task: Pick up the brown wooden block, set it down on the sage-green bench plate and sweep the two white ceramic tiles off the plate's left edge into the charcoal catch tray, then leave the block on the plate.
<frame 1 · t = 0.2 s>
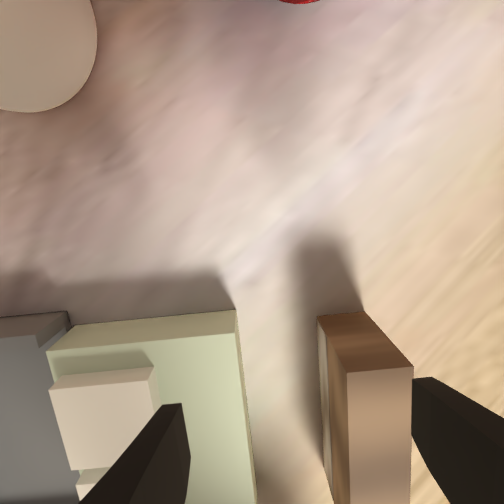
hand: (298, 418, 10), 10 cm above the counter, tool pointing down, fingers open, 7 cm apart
brown wooden block: (343, 394, 21), on the counter
catch tray: (30, 427, 21), on the counter
bench plate: (173, 413, 21), on the counter
pill bottle: (25, 33, 16), on the counter
tile b: (117, 410, 18), point 3 cm above the counter, touching bench plate
tile a: (136, 495, 19), point 3 cm above the counter, touching bench plate
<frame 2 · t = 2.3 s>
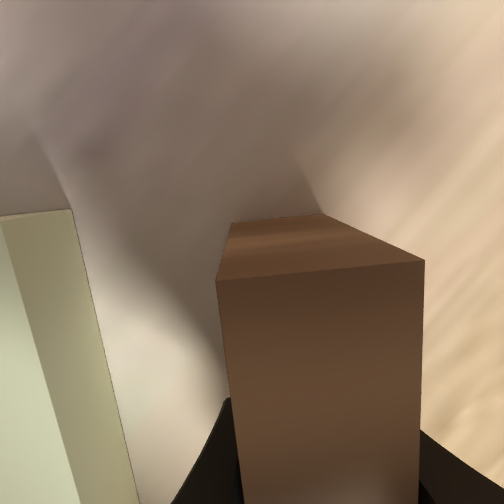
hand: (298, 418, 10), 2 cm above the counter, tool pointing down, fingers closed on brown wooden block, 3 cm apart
brown wooden block: (290, 378, 12), on the counter, touching gripper
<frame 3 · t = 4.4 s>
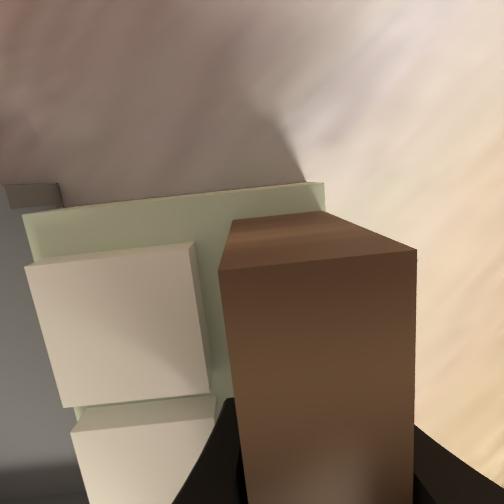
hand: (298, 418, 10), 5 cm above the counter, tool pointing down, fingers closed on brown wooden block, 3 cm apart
brown wooden block: (290, 373, 12), point 3 cm above the counter, touching bench plate, gripper
catch tray: (7, 365, 15), on the counter
bench plate: (210, 344, 15), on the counter
tile b: (134, 317, 11), point 3 cm above the counter, touching bench plate
tile a: (162, 455, 13), point 3 cm above the counter, touching bench plate
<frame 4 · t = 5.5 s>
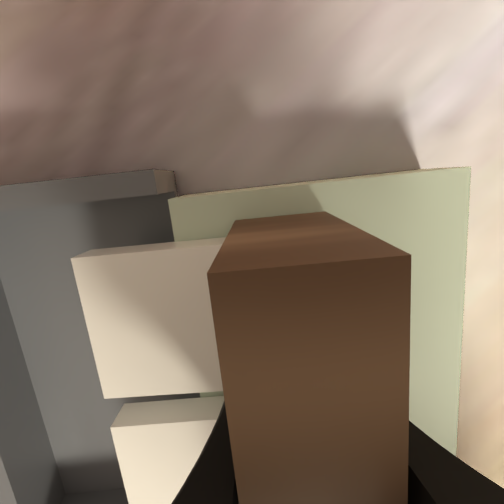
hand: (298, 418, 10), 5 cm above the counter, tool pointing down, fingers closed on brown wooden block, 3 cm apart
brown wooden block: (292, 374, 12), point 3 cm above the counter, touching gripper, tile b
catch tray: (109, 355, 15), on the counter
bench plate: (312, 333, 15), on the counter
tile b: (173, 311, 11), point 3 cm above the counter, touching bench plate, brown wooden block
tile a: (197, 452, 13), point 3 cm above the counter
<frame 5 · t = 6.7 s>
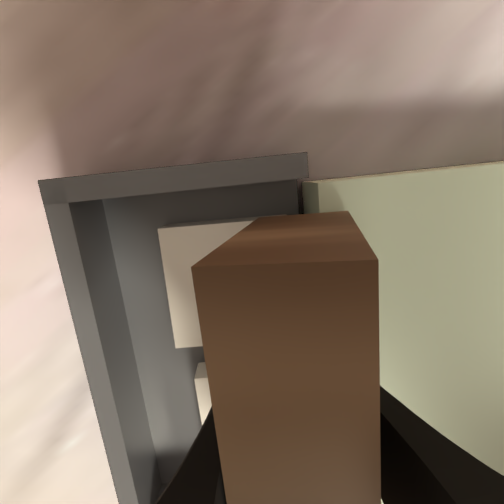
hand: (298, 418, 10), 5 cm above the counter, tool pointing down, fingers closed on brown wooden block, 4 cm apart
brown wooden block: (312, 370, 12), point 3 cm above the counter, tilted 14°, touching bench plate, gripper
catch tray: (213, 343, 15), on the counter
bench plate: (417, 322, 15), on the counter
tile b: (231, 276, 14), resting on catch tray
tile a: (257, 403, 15), resting on catch tray
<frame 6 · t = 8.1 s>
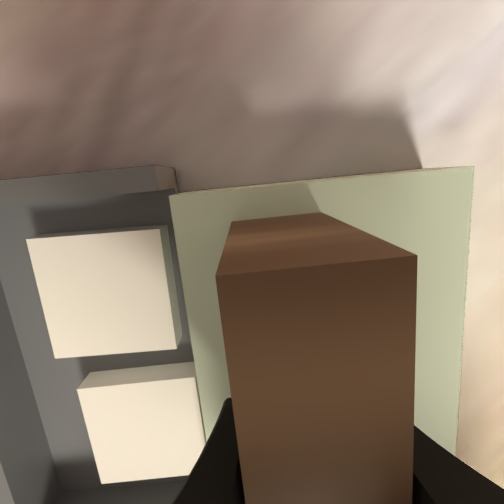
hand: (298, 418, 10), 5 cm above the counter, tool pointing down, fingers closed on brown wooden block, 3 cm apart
brown wooden block: (289, 375, 12), point 3 cm above the counter, touching gripper
catch tray: (108, 352, 15), on the counter
bench plate: (312, 332, 15), on the counter
tile b: (116, 286, 14), resting on catch tray
tile a: (153, 412, 15), resting on catch tray
when the fingers open (5 cm above the counter, at t = 8.6 s): brown wooden block stays where it is, resting on bench plate.
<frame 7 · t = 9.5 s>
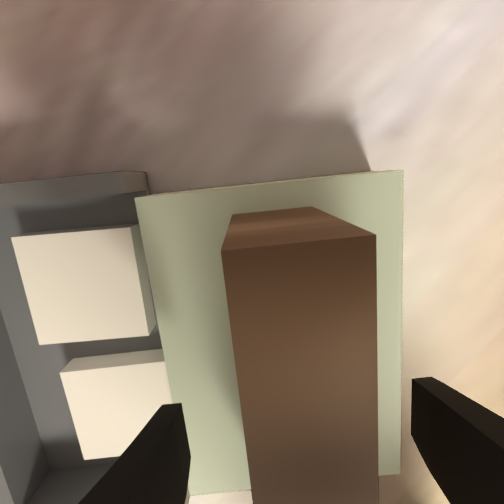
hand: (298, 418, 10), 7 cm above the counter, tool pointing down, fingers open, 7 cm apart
brown wooden block: (284, 352, 13), point 3 cm above the counter, touching bench plate
catch tray: (89, 340, 16), on the counter
bench plate: (276, 321, 16), on the counter
tile b: (95, 279, 15), resting on catch tray
tile a: (132, 395, 16), resting on catch tray
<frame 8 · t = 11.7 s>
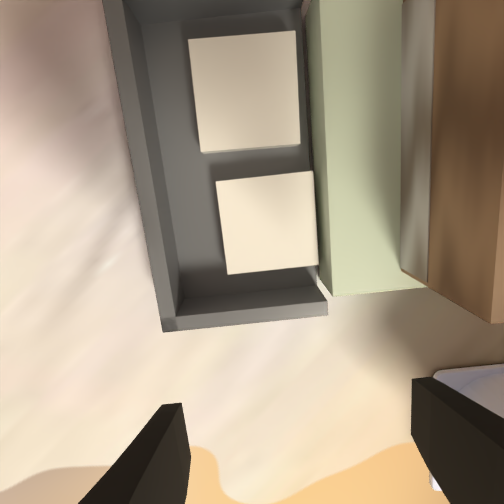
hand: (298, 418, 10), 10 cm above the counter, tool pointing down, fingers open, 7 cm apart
brown wooden block: (434, 144, 15), point 3 cm above the counter, touching bench plate
catch tray: (230, 168, 18), on the counter
bench plate: (402, 150, 18), on the counter
tile b: (246, 99, 16), resting on catch tray
tile a: (267, 221, 18), resting on catch tray
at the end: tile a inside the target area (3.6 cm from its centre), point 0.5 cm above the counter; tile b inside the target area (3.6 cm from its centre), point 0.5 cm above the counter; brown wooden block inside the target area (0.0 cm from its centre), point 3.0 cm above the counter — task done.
